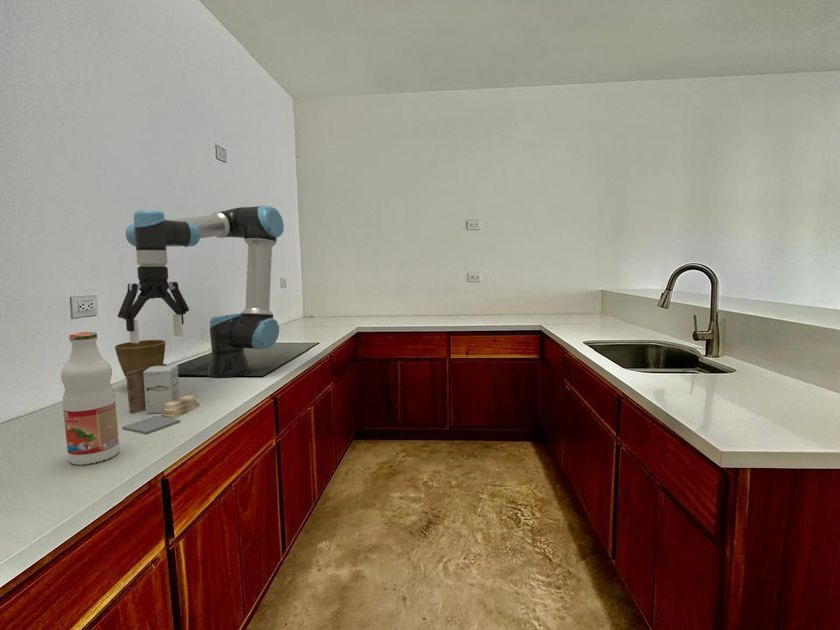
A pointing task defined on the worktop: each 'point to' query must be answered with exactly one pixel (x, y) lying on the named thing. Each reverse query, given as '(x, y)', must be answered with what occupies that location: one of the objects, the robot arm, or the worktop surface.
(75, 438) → the fruit juice
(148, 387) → the supplement box
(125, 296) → the robot arm
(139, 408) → the walnut rack
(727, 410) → the worktop surface
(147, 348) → the plant pot
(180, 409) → the pine offcuts
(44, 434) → the worktop surface
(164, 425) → the slate mat
